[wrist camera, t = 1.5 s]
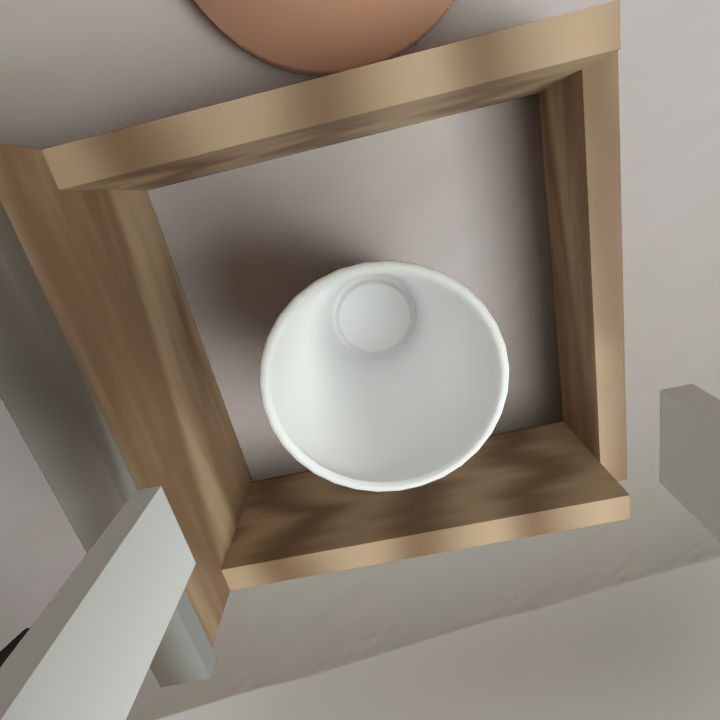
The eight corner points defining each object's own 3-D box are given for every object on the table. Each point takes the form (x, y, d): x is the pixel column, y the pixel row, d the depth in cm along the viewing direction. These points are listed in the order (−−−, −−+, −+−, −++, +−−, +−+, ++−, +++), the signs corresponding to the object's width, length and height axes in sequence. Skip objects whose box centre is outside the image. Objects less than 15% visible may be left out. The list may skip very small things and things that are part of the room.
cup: (268, 269, 27) (214, 316, 17) (426, 208, 26) (472, 219, 16) (329, 409, 30) (315, 520, 20) (472, 360, 29) (535, 452, 19)
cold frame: (233, 504, 33) (160, 687, 21) (103, 170, 25) (-135, 150, 13) (586, 435, 31) (733, 592, 19) (564, 53, 23) (791, -97, 11)
